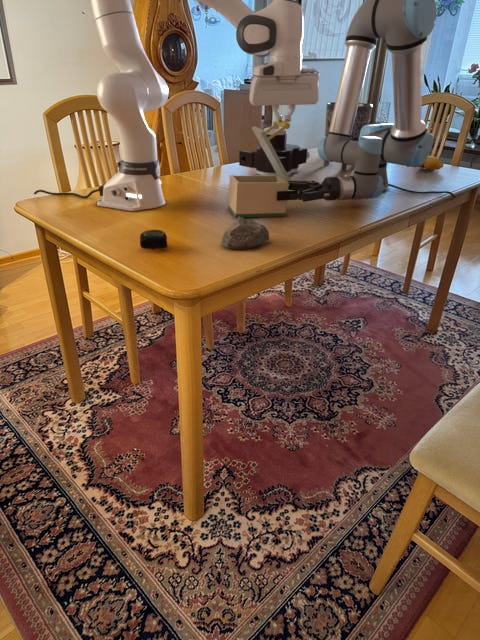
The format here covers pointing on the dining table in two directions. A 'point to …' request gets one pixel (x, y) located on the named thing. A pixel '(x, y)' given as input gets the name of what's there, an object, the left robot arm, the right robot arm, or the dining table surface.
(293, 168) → the mechanical component
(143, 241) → the tape measure
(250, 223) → the rock
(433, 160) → the toy
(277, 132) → the lid
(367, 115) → the planter
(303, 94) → the left robot arm
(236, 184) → the chest
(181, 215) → the dining table surface
